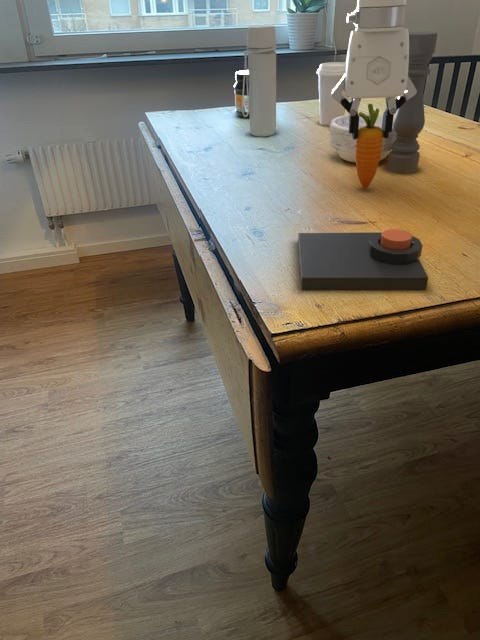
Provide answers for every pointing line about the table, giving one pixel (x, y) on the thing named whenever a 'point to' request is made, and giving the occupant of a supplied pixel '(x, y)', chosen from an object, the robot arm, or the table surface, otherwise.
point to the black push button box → (358, 263)
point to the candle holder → (412, 106)
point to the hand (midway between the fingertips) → (369, 135)
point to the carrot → (368, 147)
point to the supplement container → (239, 92)
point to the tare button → (396, 239)
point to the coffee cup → (330, 91)
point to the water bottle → (261, 80)
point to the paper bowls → (347, 144)
